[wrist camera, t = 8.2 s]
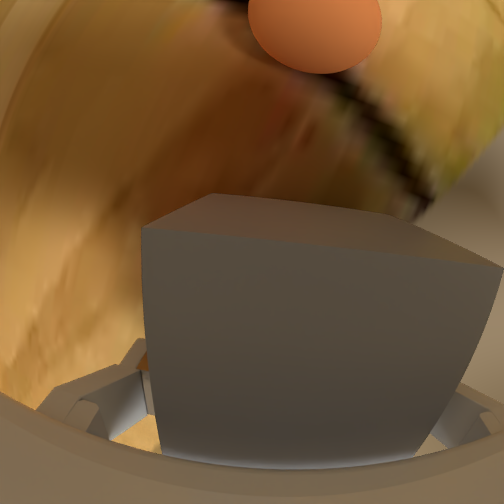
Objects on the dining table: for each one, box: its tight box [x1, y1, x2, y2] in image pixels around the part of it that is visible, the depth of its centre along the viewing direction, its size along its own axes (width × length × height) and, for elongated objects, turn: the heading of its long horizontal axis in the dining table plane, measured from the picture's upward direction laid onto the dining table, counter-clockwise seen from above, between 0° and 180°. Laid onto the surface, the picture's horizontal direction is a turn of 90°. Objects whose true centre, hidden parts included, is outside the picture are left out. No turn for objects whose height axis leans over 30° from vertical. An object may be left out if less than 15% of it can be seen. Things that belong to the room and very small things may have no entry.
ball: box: [248, 0, 382, 74], centre depth 8 cm, size 5×5×5 cm
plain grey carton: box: [141, 193, 504, 469], centre depth 9 cm, size 10×7×7 cm
